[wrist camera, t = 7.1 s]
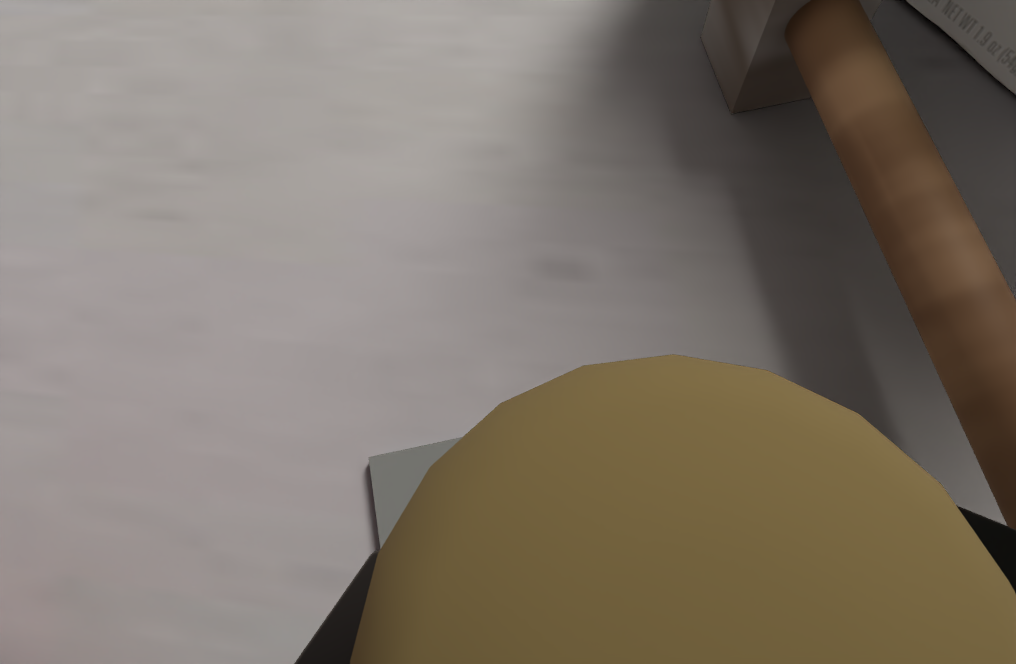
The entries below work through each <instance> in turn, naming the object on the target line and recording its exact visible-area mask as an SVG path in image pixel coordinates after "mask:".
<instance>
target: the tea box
mask: <svg viewBox="0 0 1016 664" xmlns="http://www.w3.org/2000/svg"><path fill="white" fill-rule="evenodd" d="M906 1H907V2H908V3H909V4H911V5H912V6H913V7H914V8H915V9H917V10H918V11H919V12H920V13H921V14H923V15H924V16H925V17H926V18H928V19H929V20H930V21H932V22H933V23H935V24H936V25H938V26H939V27H940V28H941V29H942V30H943V31H944V32H946V33H947V34H948V35H949V36H950V37H951V38H952V39H954V40H955V41H956V42H957V43H958V44H959V45H960V46H961V47H962V48H963V49H964V50H965V51H966V52H968V53H969V54H970V55H971V56H972V57H973V58H974V59H975V60H976V61H977V62H978V63H979V64H980V65H982V66H983V67H984V68H985V69H986V70H987V71H988V72H989V73H990V74H992V75H993V76H994V77H995V78H996V79H997V80H998V81H1000V82H1001V83H1002V84H1003V85H1004V86H1006V87H1007V88H1008V89H1009V90H1010V91H1012V92H1013V93H1014V94H1015V95H1016V0H906Z"/></svg>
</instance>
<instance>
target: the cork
mask: <svg viewBox="0 0 1016 664" xmlns="http://www.w3.org/2000/svg"><path fill="white" fill-rule="evenodd" d="M350 664H1016V594H1015V591H1014V589H1013V588H1012V586H1011V584H1010V582H1009V581H1008V579H1007V578H1006V576H1005V575H1004V574H1003V572H1002V571H1001V569H1000V568H999V566H998V565H997V563H996V562H995V561H994V559H993V558H992V556H991V555H990V553H989V552H988V551H987V549H986V548H985V546H984V545H983V543H982V542H981V541H980V539H979V538H978V536H977V535H976V533H975V532H974V530H973V529H972V528H971V526H970V525H969V523H968V522H967V520H966V519H965V518H964V516H963V515H962V513H961V512H960V510H959V509H958V507H957V506H956V505H955V503H954V502H953V500H952V499H951V497H950V496H949V495H948V493H947V492H946V490H945V489H944V487H943V486H942V485H941V484H940V483H939V482H938V481H937V480H936V479H934V478H933V477H932V476H931V475H930V474H929V473H927V472H926V471H925V470H924V469H923V468H922V467H920V466H919V465H918V464H917V463H916V462H915V461H913V460H912V459H911V458H910V457H909V456H908V455H906V454H905V453H904V452H903V451H902V450H900V449H899V448H898V447H897V446H896V445H895V444H893V443H892V442H891V441H890V440H889V439H888V438H886V437H885V436H884V435H883V434H882V433H881V432H879V431H878V430H877V429H876V428H875V427H874V426H872V425H871V424H870V423H869V422H868V421H867V420H865V419H864V418H863V417H862V416H861V415H859V414H858V413H856V412H854V411H852V410H850V409H848V408H846V407H843V406H841V405H839V404H837V403H835V402H833V401H831V400H829V399H827V398H825V397H822V396H820V395H818V394H816V393H814V392H812V391H810V390H808V389H806V388H804V387H801V386H799V385H797V384H795V383H793V382H791V381H789V380H787V379H785V378H782V377H780V376H778V375H776V374H774V373H772V372H770V371H768V370H763V369H757V368H751V367H745V366H739V365H733V364H727V363H721V362H716V361H710V360H704V359H698V358H692V357H686V356H680V355H674V354H673V355H665V356H657V357H649V358H641V359H633V360H625V361H617V362H609V363H601V364H593V365H585V366H582V367H579V368H577V369H575V370H573V371H571V372H568V373H566V374H564V375H562V376H560V377H557V378H555V379H553V380H551V381H549V382H546V383H544V384H542V385H540V386H538V387H535V388H533V389H531V390H529V391H527V392H525V393H522V394H520V395H518V396H516V397H514V398H511V399H509V400H507V401H505V402H503V403H500V404H499V405H498V406H497V407H496V408H495V409H494V410H493V411H491V412H490V413H489V414H488V415H487V416H486V417H485V418H484V419H483V420H481V421H480V422H479V423H478V424H477V425H476V426H475V427H474V428H473V429H471V430H470V431H469V432H468V433H467V434H466V435H465V436H464V437H463V438H461V439H460V440H459V441H458V442H457V443H456V444H455V445H454V446H453V447H451V448H450V449H449V450H448V451H447V452H446V453H445V454H444V455H443V456H441V457H440V458H439V459H438V460H437V461H436V462H435V463H434V464H433V465H432V466H430V468H429V469H428V471H427V473H426V474H425V476H424V478H423V479H422V481H421V483H420V484H419V486H418V488H417V489H416V491H415V493H414V494H413V496H412V498H411V499H410V501H409V503H408V504H407V506H406V508H405V509H404V511H403V513H402V514H401V516H400V518H399V519H398V521H397V523H396V524H395V526H394V528H393V529H392V531H391V533H390V534H389V536H388V538H387V539H386V541H385V543H384V544H383V546H382V548H381V549H380V551H379V553H378V555H377V559H376V563H375V567H374V571H373V575H372V579H371V582H370V586H369V590H368V594H367V598H366V602H365V606H364V610H363V613H362V617H361V621H360V625H359V629H358V633H357V637H356V641H355V644H354V648H353V652H352V656H351V660H350Z"/></svg>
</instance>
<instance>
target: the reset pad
mask: <svg viewBox="0 0 1016 664" xmlns="http://www.w3.org/2000/svg"><path fill="white" fill-rule="evenodd" d="M462 438H463V437H462ZM460 439H461V438H457V439H452V440H447V441H443V442H438V443H433V444H429V445H424V446H419V447H415V448H410V449H405V450H401V451H396V452H391V453H387V454H382V455H377V456H373V457H369V465H370V472H371V480H372V488H373V496H374V503H375V511H376V519H377V526H378V534H379V542H380V549H381V548H382V546H383V544H384V543H385V541H386V539H387V538H388V536H389V534H390V533H391V531H392V529H393V528H394V526H395V524H396V523H397V521H398V519H399V518H400V516H401V514H402V513H403V511H404V509H405V508H406V506H407V504H408V503H409V501H410V499H411V498H412V496H413V494H414V493H415V491H416V489H417V488H418V486H419V484H420V483H421V481H422V479H423V478H424V476H425V474H426V473H427V471H428V469H429V468H430V466H432V465H433V464H434V463H435V462H436V461H437V460H438V459H439V458H440V457H441V456H443V455H444V454H445V453H446V452H447V451H448V450H449V449H450V448H451V447H453V446H454V445H455V444H456V443H457V442H458V441H459V440H460Z"/></svg>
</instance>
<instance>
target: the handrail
mask: <svg viewBox="0 0 1016 664" xmlns="http://www.w3.org/2000/svg"><path fill="white" fill-rule="evenodd" d="M881 2H882V0H711V2H710V6H709V10H708V13H707V17H706V20H705V24H704V27H703V31H702V35H701V40H702V42H703V45H704V47H705V50H706V52H707V55H708V57H709V60H710V62H711V65H712V67H713V70H714V72H715V75H716V77H717V80H718V82H719V85H720V87H721V90H722V92H723V95H724V97H725V100H726V102H727V105H728V107H729V110H730V112H731V114H733V113H738V112H743V111H748V110H753V109H758V108H762V107H767V106H772V105H777V104H782V103H787V102H792V101H797V100H802V99H807V98H811V97H812V99H813V101H814V103H815V106H816V108H817V110H818V112H819V114H820V117H821V119H822V121H823V123H824V125H825V128H826V130H827V132H828V134H829V136H830V138H831V141H832V143H833V145H834V147H835V149H836V152H837V154H838V156H839V158H840V160H841V163H842V165H843V167H844V169H845V171H846V173H847V176H848V178H849V180H850V182H851V184H852V187H853V189H854V191H855V193H856V195H857V198H858V200H859V202H860V204H861V206H862V208H863V211H864V213H865V215H866V217H867V219H868V222H869V224H870V226H871V228H872V230H873V233H874V235H875V237H876V239H877V241H878V244H879V246H880V248H881V250H882V252H883V254H884V257H885V259H886V261H887V263H888V265H889V268H890V270H891V272H892V274H893V276H894V279H895V281H896V283H897V285H898V287H899V289H900V292H901V294H902V296H903V298H904V300H905V303H906V305H907V307H908V309H909V311H910V314H911V316H912V318H913V320H914V322H915V324H916V327H917V329H918V331H919V333H920V335H921V338H922V340H923V342H924V344H925V346H926V349H927V351H928V353H929V355H930V357H931V359H932V362H933V364H934V366H935V368H936V370H937V373H938V375H939V377H940V379H941V381H942V384H943V386H944V388H945V390H946V392H947V394H948V397H949V399H950V401H951V403H952V405H953V408H954V410H955V412H956V414H957V416H958V419H959V421H960V423H961V425H962V427H963V430H964V432H965V434H966V436H967V438H968V440H969V443H970V445H971V447H972V449H973V451H974V454H975V456H976V458H977V460H978V462H979V465H980V467H981V469H982V471H983V473H984V475H985V478H986V480H987V482H988V484H989V486H990V489H991V491H992V493H993V495H994V497H995V500H996V502H997V504H998V506H999V508H1000V510H1001V513H1002V515H1003V517H1004V519H1005V521H1006V524H1007V526H1008V527H1010V528H1013V529H1015V530H1016V300H1015V298H1014V296H1013V294H1012V292H1011V290H1010V288H1009V286H1008V284H1007V282H1006V280H1005V279H1004V277H1003V275H1002V273H1001V271H1000V269H999V267H998V265H997V263H996V261H995V259H994V258H993V256H992V254H991V252H990V250H989V248H988V246H987V244H986V242H985V240H984V238H983V236H982V235H981V233H980V231H979V229H978V227H977V225H976V223H975V221H974V219H973V217H972V215H971V213H970V212H969V210H968V208H967V206H966V204H965V202H964V200H963V198H962V196H961V194H960V192H959V191H958V189H957V187H956V185H955V183H954V181H953V179H952V177H951V175H950V173H949V171H948V169H947V168H946V166H945V164H944V162H943V160H942V158H941V156H940V154H939V152H938V150H937V148H936V147H935V145H934V143H933V141H932V139H931V137H930V135H929V133H928V131H927V129H926V127H925V125H924V124H923V122H922V120H921V118H920V116H919V114H918V112H917V110H916V108H915V106H914V104H913V103H912V101H911V99H910V97H909V95H908V93H907V91H906V89H905V87H904V85H903V83H902V81H901V80H900V78H899V76H898V74H897V72H896V70H895V68H894V66H893V64H892V62H891V60H890V59H889V57H888V55H887V53H886V51H885V49H884V47H883V45H882V43H881V41H880V39H879V37H878V36H877V34H876V32H875V30H874V28H873V26H872V24H871V22H870V21H871V19H872V17H873V16H874V14H875V12H876V10H877V9H878V7H879V5H880V3H881Z"/></svg>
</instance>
